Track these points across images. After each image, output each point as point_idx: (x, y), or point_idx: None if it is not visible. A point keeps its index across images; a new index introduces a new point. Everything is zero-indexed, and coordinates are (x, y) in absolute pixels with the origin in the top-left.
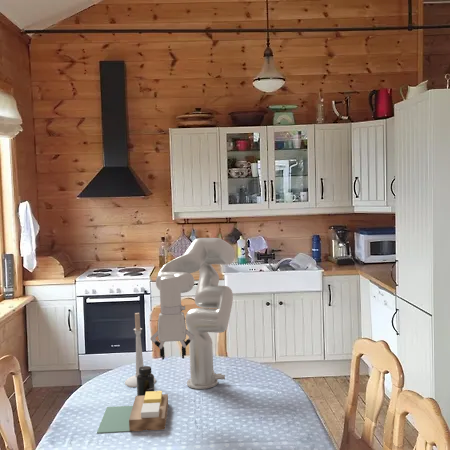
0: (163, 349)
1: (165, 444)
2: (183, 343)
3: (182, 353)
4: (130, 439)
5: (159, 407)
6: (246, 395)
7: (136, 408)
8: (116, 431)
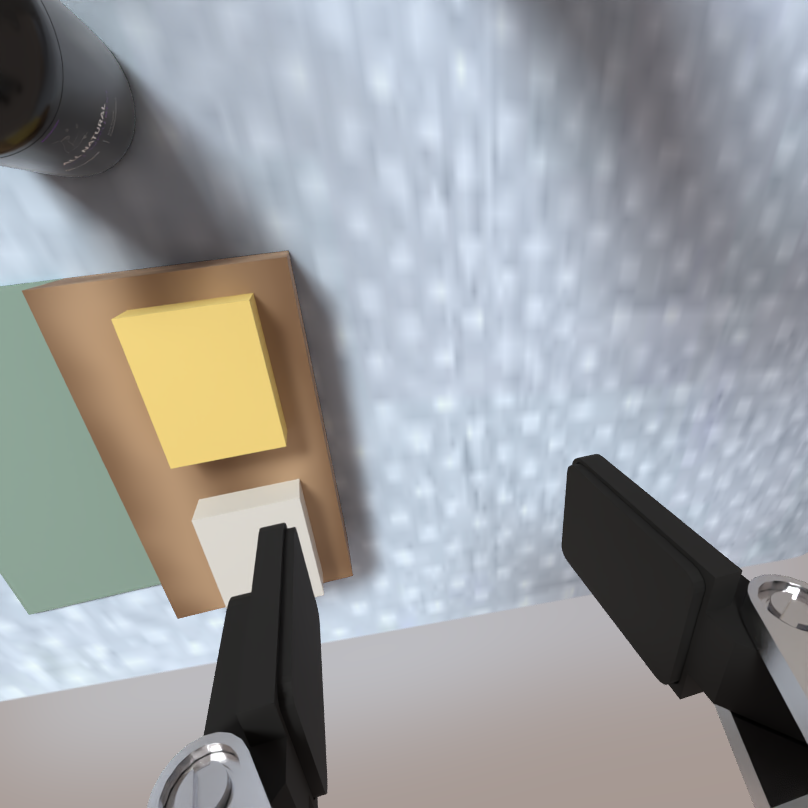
0: (322, 792)
1: (374, 628)
2: (796, 787)
3: (614, 611)
4: None
5: (310, 535)
6: (743, 111)
7: (150, 498)
8: (127, 590)
